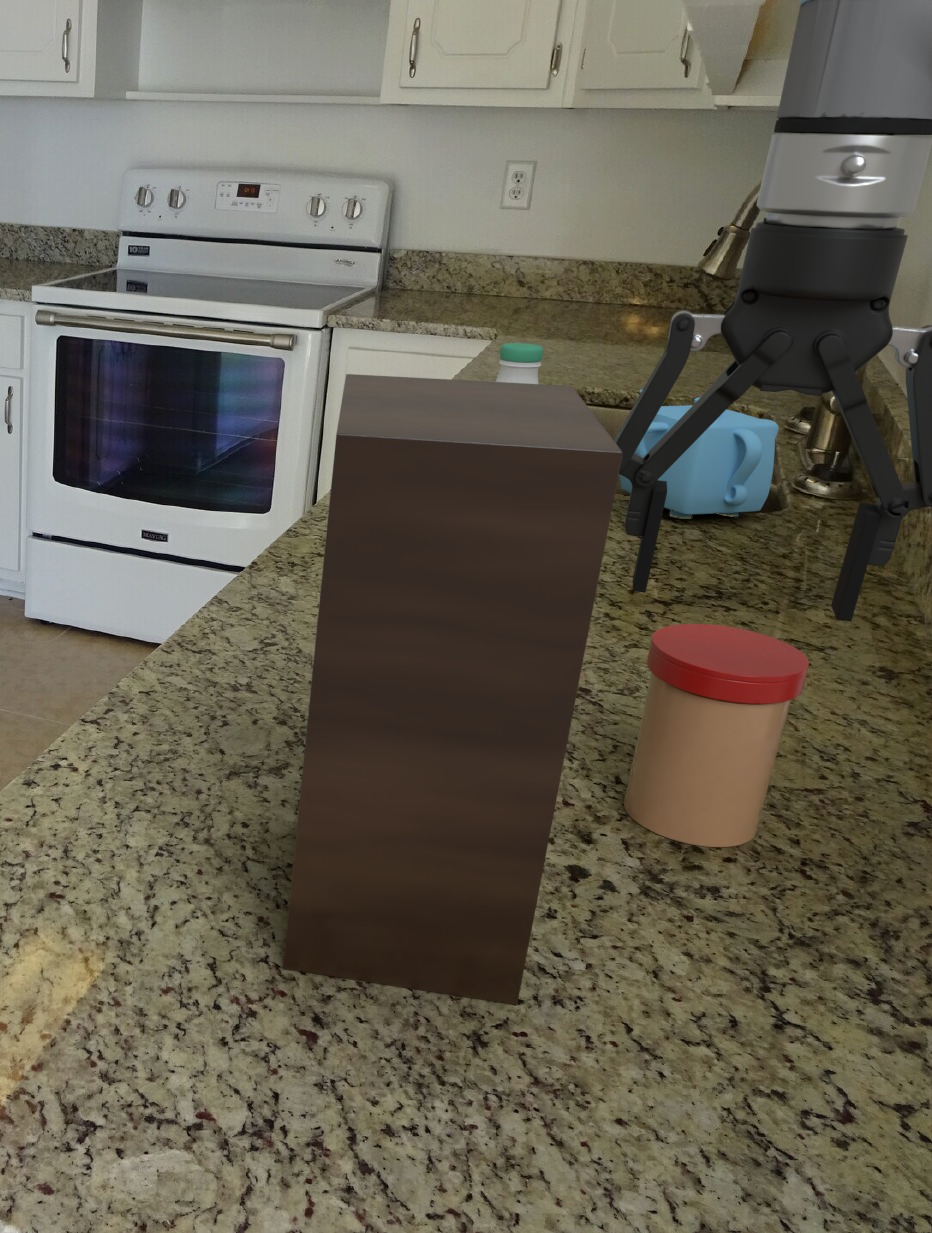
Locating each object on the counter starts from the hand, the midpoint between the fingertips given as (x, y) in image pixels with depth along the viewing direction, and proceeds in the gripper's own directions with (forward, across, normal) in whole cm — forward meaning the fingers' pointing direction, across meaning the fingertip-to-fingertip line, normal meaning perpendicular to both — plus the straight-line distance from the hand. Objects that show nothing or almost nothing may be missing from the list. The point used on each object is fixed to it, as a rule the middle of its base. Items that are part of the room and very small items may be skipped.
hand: (737, 599), depth 77 cm
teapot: (+15, +1, +85) cm, 86 cm away
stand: (+15, -16, -19) cm, 29 cm away
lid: (+4, 0, 0) cm, 4 cm away
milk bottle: (+16, -19, +70) cm, 74 cm away
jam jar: (+15, 0, 0) cm, 15 cm away
